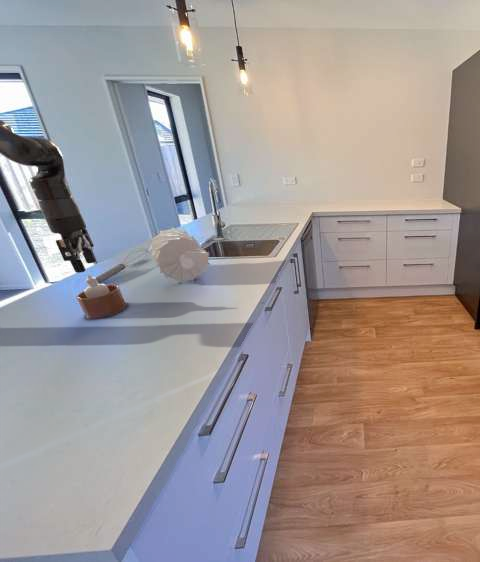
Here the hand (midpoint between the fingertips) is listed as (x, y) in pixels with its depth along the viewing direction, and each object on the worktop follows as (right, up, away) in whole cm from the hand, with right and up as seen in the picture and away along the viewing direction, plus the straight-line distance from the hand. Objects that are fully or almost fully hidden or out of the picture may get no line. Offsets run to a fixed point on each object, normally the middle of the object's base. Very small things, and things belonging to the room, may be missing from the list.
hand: (86, 267), depth 92 cm
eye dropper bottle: (0, -13, +6) cm, 15 cm away
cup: (0, -14, +6) cm, 15 cm away
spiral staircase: (+9, -1, +34) cm, 35 cm away
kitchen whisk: (-20, 0, +39) cm, 44 cm away
